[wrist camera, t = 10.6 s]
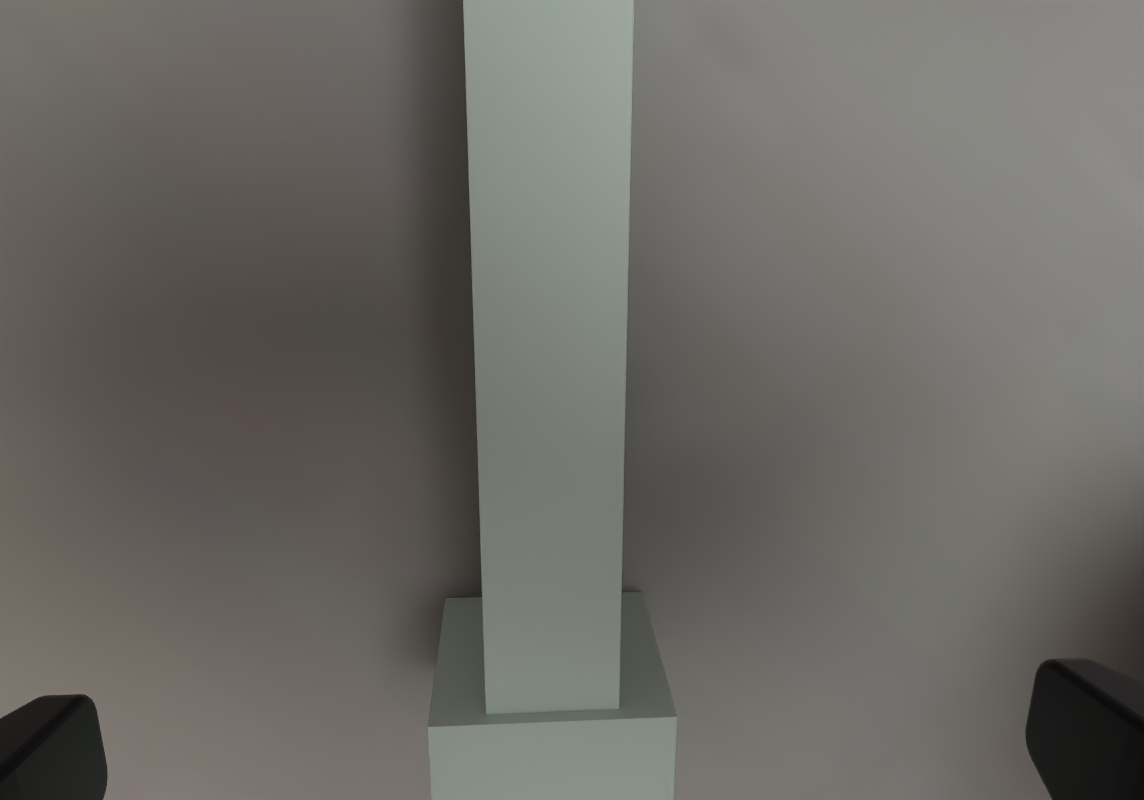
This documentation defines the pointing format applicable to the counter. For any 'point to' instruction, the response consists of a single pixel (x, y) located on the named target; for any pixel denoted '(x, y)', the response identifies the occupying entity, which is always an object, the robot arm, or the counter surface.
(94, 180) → the counter surface
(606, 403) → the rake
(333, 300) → the counter surface
